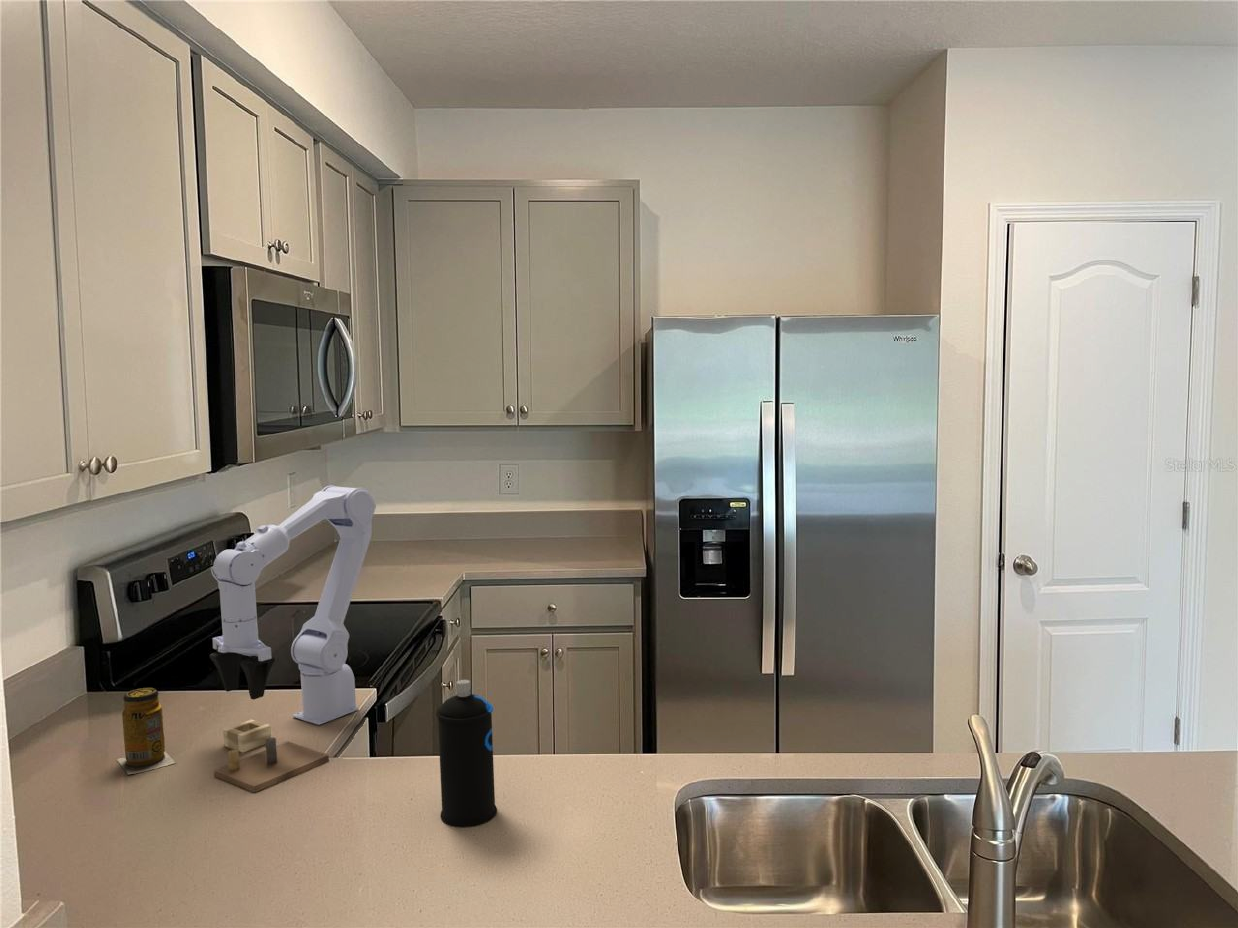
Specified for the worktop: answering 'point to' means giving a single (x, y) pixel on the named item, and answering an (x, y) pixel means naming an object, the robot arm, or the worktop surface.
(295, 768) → the post board
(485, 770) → the aerosol can
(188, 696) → the worktop surface
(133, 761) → the condiment
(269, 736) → the ring
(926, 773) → the worktop surface
